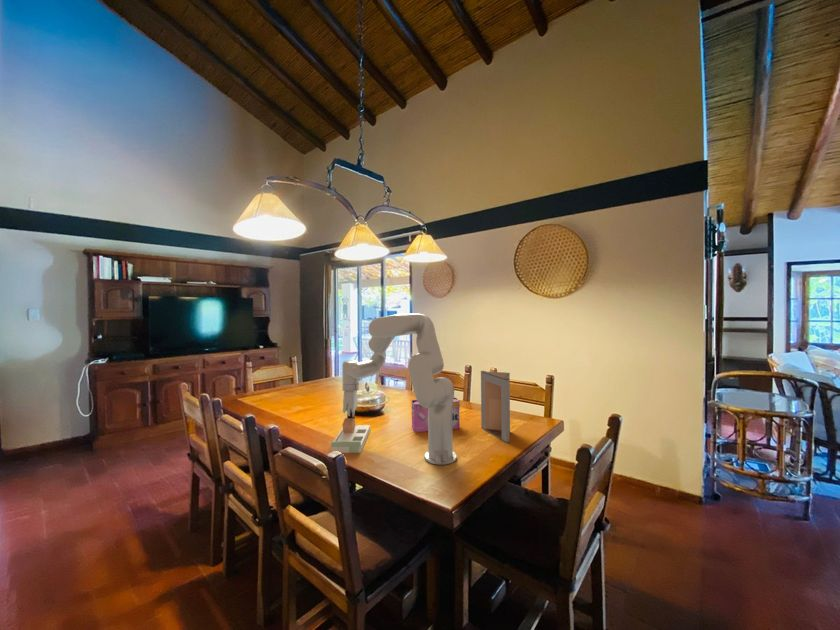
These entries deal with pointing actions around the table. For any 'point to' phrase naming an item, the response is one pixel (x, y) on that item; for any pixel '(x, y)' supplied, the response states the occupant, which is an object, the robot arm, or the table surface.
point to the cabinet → (496, 404)
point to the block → (348, 425)
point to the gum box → (422, 416)
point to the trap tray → (351, 440)
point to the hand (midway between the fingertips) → (351, 425)
